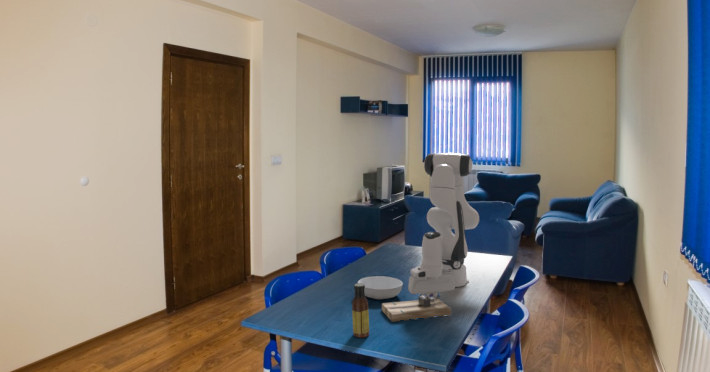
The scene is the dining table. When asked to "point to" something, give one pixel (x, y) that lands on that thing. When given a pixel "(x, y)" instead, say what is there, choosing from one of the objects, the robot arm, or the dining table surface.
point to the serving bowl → (381, 287)
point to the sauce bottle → (360, 312)
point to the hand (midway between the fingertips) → (431, 302)
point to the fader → (424, 301)
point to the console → (414, 310)
